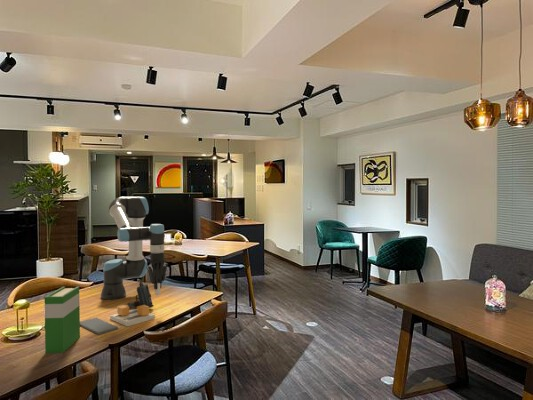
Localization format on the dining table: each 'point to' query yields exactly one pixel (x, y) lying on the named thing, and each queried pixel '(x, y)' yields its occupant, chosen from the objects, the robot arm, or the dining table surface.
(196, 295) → the dining table surface
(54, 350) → the hardback book
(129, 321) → the light grey tray
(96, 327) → the mat
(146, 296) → the gun
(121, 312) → the orange wooden block
